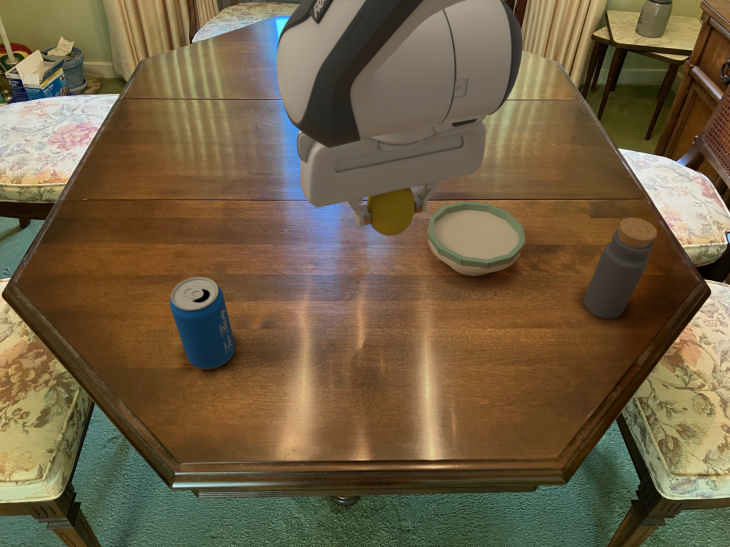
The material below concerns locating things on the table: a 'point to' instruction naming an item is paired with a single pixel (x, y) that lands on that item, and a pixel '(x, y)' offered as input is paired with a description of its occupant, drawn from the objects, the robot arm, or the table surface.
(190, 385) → the table surface
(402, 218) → the lemon
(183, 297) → the beverage can
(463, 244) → the bowl
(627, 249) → the bottle
